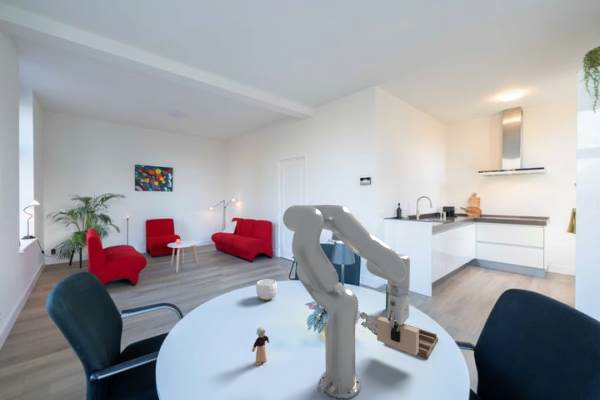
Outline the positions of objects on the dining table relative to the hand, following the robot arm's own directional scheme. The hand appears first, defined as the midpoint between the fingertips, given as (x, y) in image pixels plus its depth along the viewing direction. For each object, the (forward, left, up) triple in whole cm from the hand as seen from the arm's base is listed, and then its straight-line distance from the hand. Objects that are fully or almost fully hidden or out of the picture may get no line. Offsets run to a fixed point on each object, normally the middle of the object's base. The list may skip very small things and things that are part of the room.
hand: (397, 338), depth 93 cm
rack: (+16, 0, -8) cm, 18 cm away
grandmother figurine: (-32, +38, -8) cm, 50 cm away
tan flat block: (0, 0, -3) cm, 3 cm away
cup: (+7, +79, -8) cm, 79 cm away
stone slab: (+19, +19, -9) cm, 28 cm away
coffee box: (+39, +16, -8) cm, 43 cm away
